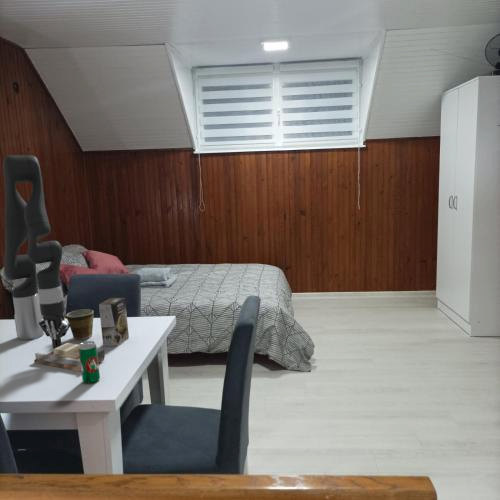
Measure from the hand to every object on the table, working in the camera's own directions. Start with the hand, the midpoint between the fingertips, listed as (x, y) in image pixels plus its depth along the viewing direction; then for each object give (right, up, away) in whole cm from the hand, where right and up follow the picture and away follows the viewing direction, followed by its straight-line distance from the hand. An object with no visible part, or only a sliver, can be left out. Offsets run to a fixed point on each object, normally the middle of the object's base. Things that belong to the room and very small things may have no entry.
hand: (57, 348), depth 155 cm
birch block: (+4, -3, -1) cm, 5 cm away
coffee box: (+16, -1, +15) cm, 22 cm away
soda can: (+18, -6, -17) cm, 26 cm away
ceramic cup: (-1, -1, +22) cm, 22 cm away
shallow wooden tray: (+5, -4, -1) cm, 6 cm away
